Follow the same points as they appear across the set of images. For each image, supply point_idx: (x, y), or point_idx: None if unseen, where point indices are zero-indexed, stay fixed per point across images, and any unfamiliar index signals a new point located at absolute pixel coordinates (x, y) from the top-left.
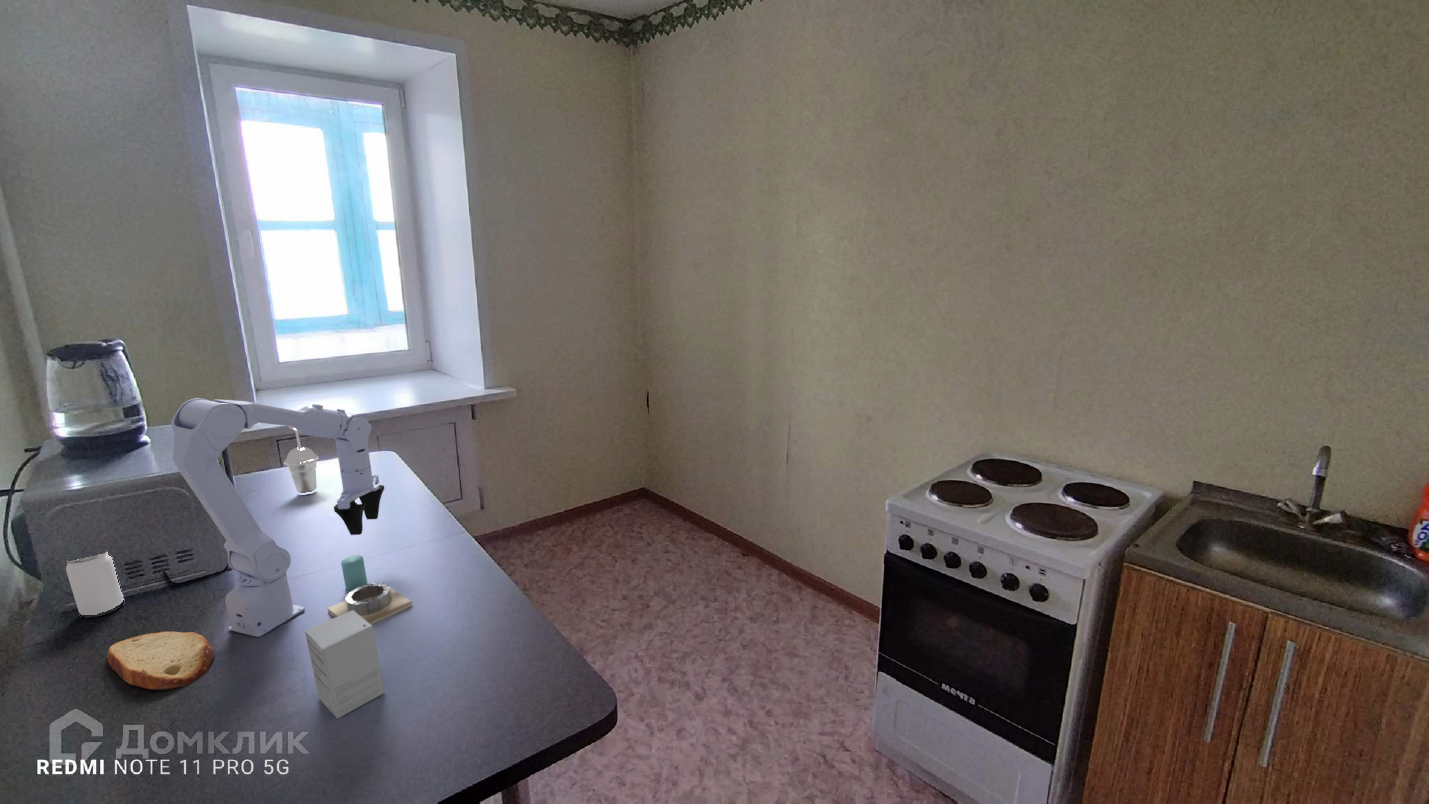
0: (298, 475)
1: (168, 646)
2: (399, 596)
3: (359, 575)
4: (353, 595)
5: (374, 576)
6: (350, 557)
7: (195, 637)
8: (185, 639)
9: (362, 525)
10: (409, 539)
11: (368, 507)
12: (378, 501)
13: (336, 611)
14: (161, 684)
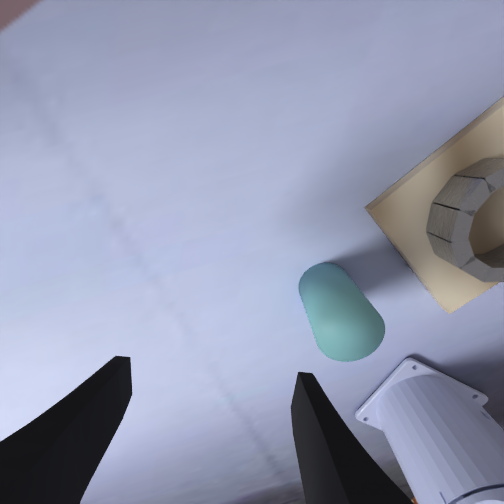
0: None
1: None
2: (477, 136)
3: (357, 287)
4: (493, 265)
5: (284, 256)
6: (328, 344)
7: None
8: None
9: (308, 401)
10: (51, 221)
11: (90, 450)
12: (45, 440)
13: (479, 288)
14: None
